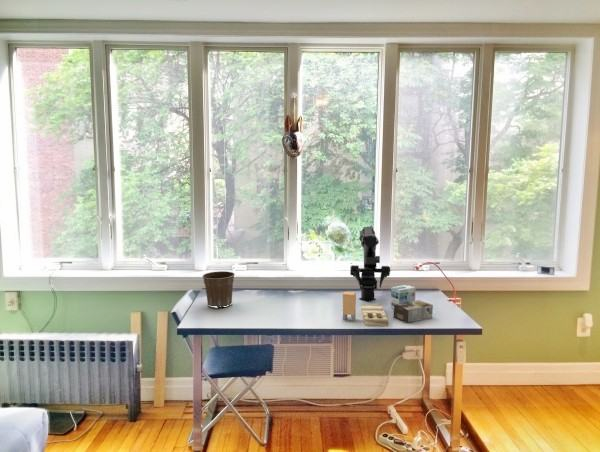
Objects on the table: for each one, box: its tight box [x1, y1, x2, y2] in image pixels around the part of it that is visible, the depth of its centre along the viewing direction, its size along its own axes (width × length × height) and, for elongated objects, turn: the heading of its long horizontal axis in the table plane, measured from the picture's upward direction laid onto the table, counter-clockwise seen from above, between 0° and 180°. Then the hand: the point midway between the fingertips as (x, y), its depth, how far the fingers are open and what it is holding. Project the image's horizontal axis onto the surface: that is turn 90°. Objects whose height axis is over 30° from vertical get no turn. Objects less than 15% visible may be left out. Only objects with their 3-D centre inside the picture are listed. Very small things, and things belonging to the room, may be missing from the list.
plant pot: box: [202, 270, 236, 308], centre depth 219 cm, size 16×16×16 cm
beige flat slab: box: [360, 304, 389, 327], centre depth 200 cm, size 22×10×2 cm, turn 177°
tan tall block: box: [342, 291, 357, 322], centre depth 197 cm, size 4×5×12 cm
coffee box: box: [393, 299, 434, 324], centre depth 199 cm, size 9×6×16 cm
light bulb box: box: [390, 284, 417, 310], centre depth 213 cm, size 11×7×11 cm, turn 117°
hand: (370, 286), depth 200 cm, fingers open, 9 cm apart
